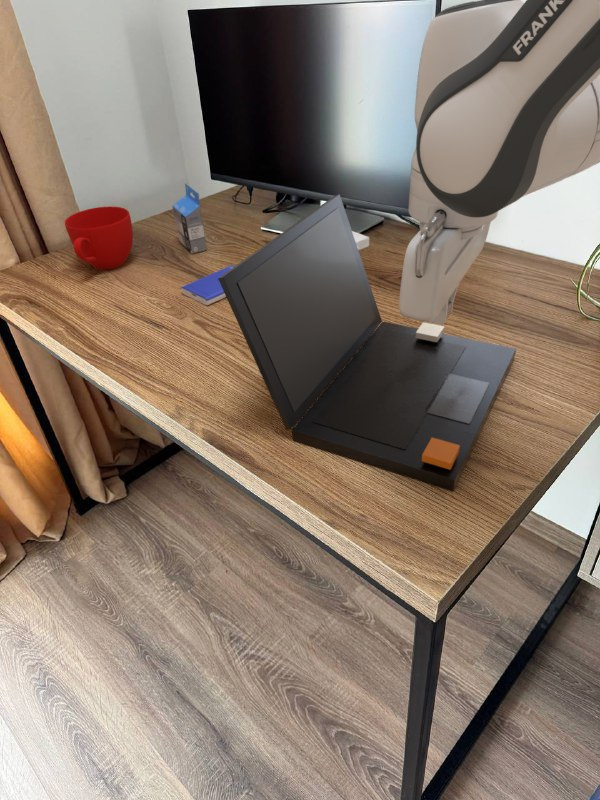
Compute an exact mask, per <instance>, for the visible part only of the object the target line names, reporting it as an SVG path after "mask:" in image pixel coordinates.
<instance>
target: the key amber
mask: <svg viewBox="0 0 600 800" xmlns="http://www.w3.org/2000/svg"><path fill="white" fill-rule="evenodd" d="M459 450H460V445H457V444H453V443H450V442H446V441H443V440H439V439H436V438H431V440H430V442H429V443H428V445H427V447H426V449H425V451H424V452H423V454H422V461H423V462H426V463H429V464H433V465H436V466H439V467H443V468H446V469H449V470H451V468H452V465H453V463H454V461H455V459H456V457H457V455H458V453H459Z"/></svg>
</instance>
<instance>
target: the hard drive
mask: <svg viewBox="0 0 600 800" xmlns="http://www.w3.org/2000/svg"><path fill="white" fill-rule="evenodd" d="M235 266H236V265H234V264H231V265H229V266H227V267H224V268H222V269H220V270H217V271H215V272H212V273H210V274H208V275H206V276H203V277H202V278H199V279H197V280H195V281H194V280H193V281H192V282H190V283H187V284H186V285H182V286H181V287H180V290H181V293H182V295H184V296H186V297H188V298H190V299H192V300H194V301H196V302H198V303H200V304H203V305H204V306H209V305H212V304H213V303H214V304H215V303H216V302H218V301H221V300H222V299H225V298H227V297H226V295H225V293H224V291H223V289H222V286H221V284H220V282H219V280H218V278H219V277H221V276H222V275H224V274H225V273H226V272H228V271H229V270H231V269H232V268H233V267H235Z"/></svg>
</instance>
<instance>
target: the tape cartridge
mask: <svg viewBox="0 0 600 800" xmlns="http://www.w3.org/2000/svg"><path fill="white" fill-rule="evenodd" d="M184 187H185V195H184V196H183V197H181V198H180V199H178V200H177V201H176V202H175V203H173V205H172V211H173V216H174V222H175V226H176V230H177V235H178V241H179V243H180V244H181V245H182V246H183V247H184V248H185V249H186V250H187V251H188V252H190V254H191V255H194V254H195V255H196V254H199V253H202V252H206V251H208V247H207V242H206V234H205V228H204V222H203V216H202V210H201V203H200V195H199V193H198V192H197V191H196V190H195V189H193V188H192V187H191V186H189V185H188V184H187V183H184ZM192 195H193V196H192Z"/></svg>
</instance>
